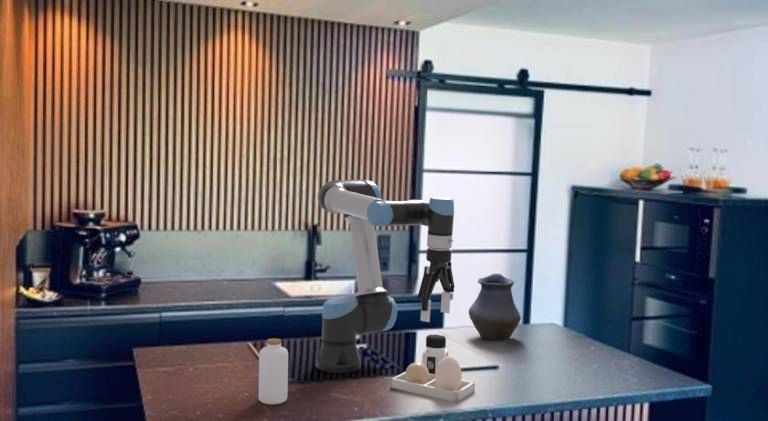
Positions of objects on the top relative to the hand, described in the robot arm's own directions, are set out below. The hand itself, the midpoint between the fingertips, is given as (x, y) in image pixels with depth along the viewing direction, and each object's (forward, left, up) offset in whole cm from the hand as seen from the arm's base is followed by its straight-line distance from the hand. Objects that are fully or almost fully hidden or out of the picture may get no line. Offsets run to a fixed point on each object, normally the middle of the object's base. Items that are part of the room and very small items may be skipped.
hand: (435, 316), depth 225 cm
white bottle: (-34, -36, -23) cm, 54 cm away
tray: (0, -1, -23) cm, 23 cm away
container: (-8, +16, -23) cm, 29 cm away
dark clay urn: (-11, +73, -23) cm, 77 cm away
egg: (+6, -1, -23) cm, 23 cm away
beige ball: (-5, -1, -22) cm, 23 cm away
